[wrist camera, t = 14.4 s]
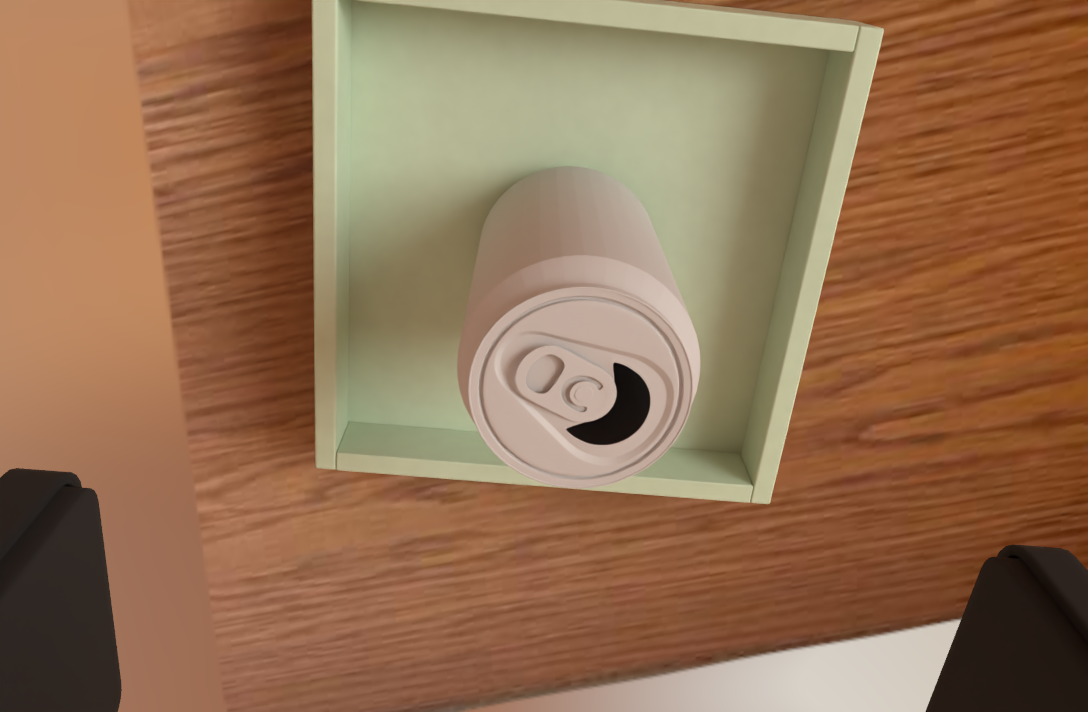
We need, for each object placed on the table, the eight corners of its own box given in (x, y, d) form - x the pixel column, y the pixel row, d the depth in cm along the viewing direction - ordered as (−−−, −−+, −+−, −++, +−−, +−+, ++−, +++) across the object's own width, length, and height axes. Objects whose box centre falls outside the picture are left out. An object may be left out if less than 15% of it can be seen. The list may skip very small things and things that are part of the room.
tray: (330, 430, 37) (314, 469, 34) (330, -36, 30) (310, -33, 27) (753, 464, 38) (770, 505, 35) (854, 20, 31) (885, 28, 28)
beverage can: (592, 355, 35) (618, 541, 24) (448, 273, 34) (406, 432, 23) (687, 219, 33) (763, 357, 22) (537, 125, 32) (539, 223, 21)
